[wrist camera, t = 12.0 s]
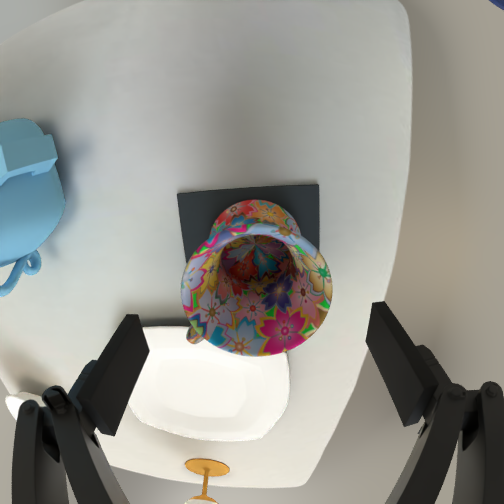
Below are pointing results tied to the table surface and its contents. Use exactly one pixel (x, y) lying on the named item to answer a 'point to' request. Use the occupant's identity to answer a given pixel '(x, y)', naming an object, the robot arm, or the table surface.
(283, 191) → the left mat
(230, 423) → the plate
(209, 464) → the cup
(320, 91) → the table surface
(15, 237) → the teapot
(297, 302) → the mug
